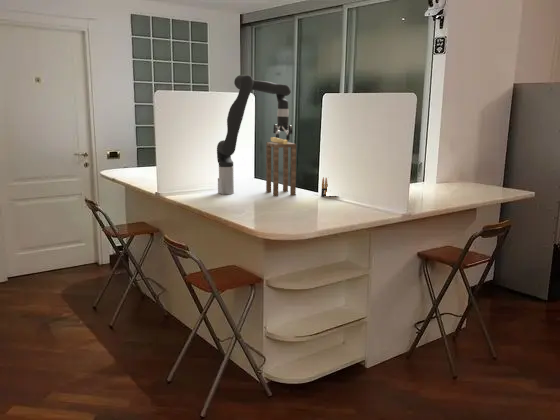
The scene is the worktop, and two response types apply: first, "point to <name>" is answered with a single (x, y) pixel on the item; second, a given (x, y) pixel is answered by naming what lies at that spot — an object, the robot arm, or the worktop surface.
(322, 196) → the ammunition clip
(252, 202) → the worktop surface
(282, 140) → the brass bar
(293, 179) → the walnut stand
